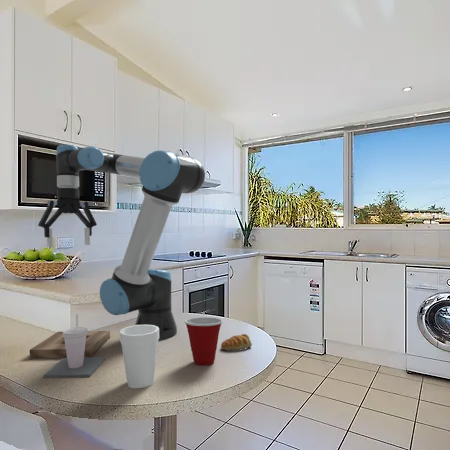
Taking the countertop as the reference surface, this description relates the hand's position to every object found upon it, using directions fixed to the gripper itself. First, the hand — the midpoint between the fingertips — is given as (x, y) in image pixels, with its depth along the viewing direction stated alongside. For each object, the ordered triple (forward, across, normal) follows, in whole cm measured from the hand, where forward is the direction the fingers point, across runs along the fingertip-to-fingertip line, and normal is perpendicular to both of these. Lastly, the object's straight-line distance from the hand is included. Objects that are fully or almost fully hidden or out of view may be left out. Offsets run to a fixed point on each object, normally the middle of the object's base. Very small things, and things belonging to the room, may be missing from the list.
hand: (69, 245), depth 133 cm
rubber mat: (+32, +13, +35) cm, 49 cm away
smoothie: (+31, +13, +35) cm, 49 cm away
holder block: (+32, +6, +18) cm, 37 cm away
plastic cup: (+32, -14, +58) cm, 68 cm away
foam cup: (+32, +6, +57) cm, 65 cm away
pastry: (+32, -29, +57) cm, 71 cm away
